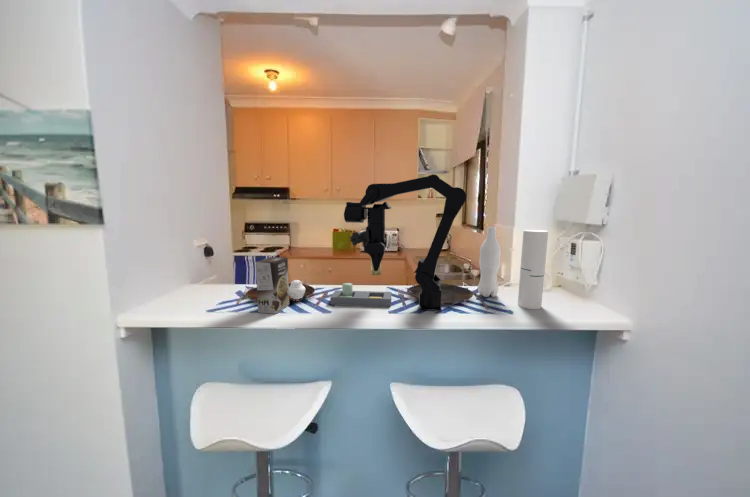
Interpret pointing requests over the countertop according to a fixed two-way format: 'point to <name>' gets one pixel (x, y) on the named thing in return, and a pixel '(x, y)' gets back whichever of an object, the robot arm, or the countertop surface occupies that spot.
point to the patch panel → (362, 298)
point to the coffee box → (272, 284)
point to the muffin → (296, 289)
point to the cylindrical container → (532, 268)
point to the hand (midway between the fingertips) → (376, 269)
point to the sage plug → (347, 289)
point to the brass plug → (375, 271)
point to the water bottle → (489, 264)
